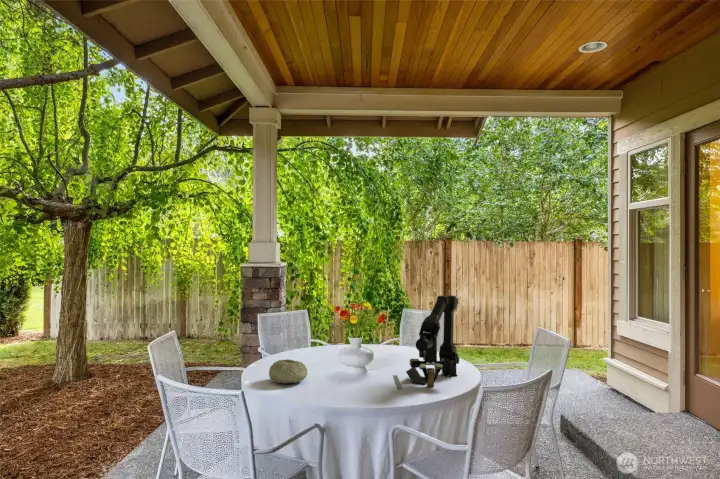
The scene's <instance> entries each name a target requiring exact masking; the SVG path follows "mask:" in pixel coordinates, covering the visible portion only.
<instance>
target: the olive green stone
mask: <svg viewBox="0 0 720 479" xmlns="http://www.w3.org/2000/svg"><path fill="white" fill-rule="evenodd" d="M308 372H309V371H308V368H307V366H306V365H305V364H304V363H303V362H301V361H299V360H294V359H287V358H286V359H279V360H276V361H274V362H273V364H272V365H271V366H270V367H269V371H268V377H269V379H270V381H272V382H274V383H278V384H296V383H299V382H300V383H301V382H302V381H303V380H304V379H306V378H307V376H308Z"/></svg>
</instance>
